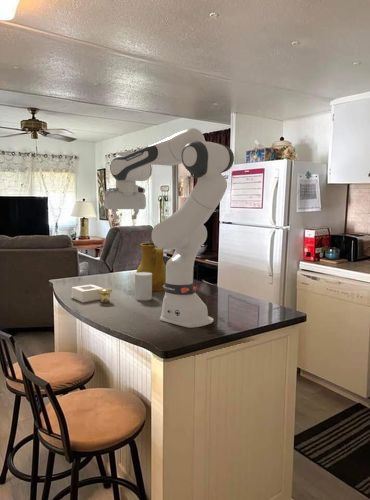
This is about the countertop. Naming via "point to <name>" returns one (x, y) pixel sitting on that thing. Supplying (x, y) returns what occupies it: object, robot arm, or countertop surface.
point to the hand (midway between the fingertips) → (125, 219)
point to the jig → (86, 293)
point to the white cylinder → (143, 286)
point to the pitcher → (153, 265)
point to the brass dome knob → (104, 295)
